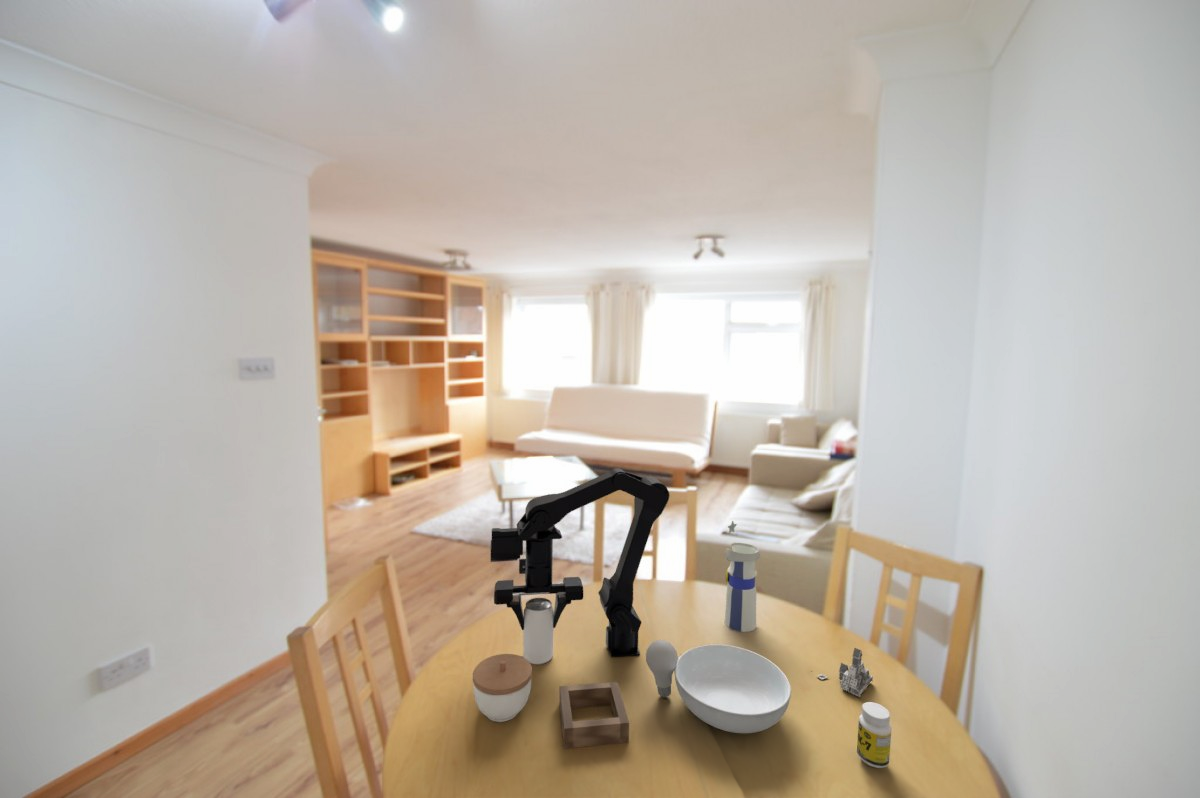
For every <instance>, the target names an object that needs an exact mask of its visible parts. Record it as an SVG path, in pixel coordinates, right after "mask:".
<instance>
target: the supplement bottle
mask: <svg viewBox="0 0 1200 798" xmlns="http://www.w3.org/2000/svg"><path fill="white" fill-rule="evenodd" d="M890 718H891V713H890V711H889V710H888V709H887V708H886V707H885V706H883V705H881V704H879V703H877V702H871V701H868V702H864V703H862V707H861V714H860V715H859V717H858V727H857V742H856V753H857V755H858V757H859V759H860V760H861V761H863V763H865V764H867V765H868V766H870V767H872V768H877V769H884V768H886V767H888V766H889V764H890V756H891V743H892V742H891V741H892V740H891V739H892V726H891V724H890Z"/></svg>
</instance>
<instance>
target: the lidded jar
mask: <svg viewBox="0 0 1200 798" xmlns="http://www.w3.org/2000/svg"><path fill="white" fill-rule="evenodd" d="M532 676H533V668H532V664H530V663H529V661H528V660H527V659H525V658H524V657H523V656H521V655H518V654H513V653H500V654H496V655H492V656H489V657H487V658H485V659H483V660H481V661H480V662H479V663H478V664H477V665H476V666H475V668H474V669H473V671H472V684H473V685H472V686H473V688H472V689H473V695H474V696H473V697H474V699H475V704H476V706H477V708H478V710H479V711H480V712H481V713H482V714H483V715H484V716H486V717H487V719H489V720H490V721H491V722H495V723H504V722H507V721H508V722H509V721H511V720H512V719H514V718H515V717H516V716H518V714H519V713H520V712H521V711H522V710H523V708H524V707H525V706H526V704H527V702H528V700H529V698H530V694H531V687H532Z"/></svg>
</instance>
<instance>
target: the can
mask: <svg viewBox="0 0 1200 798" xmlns="http://www.w3.org/2000/svg"><path fill="white" fill-rule="evenodd" d="M552 603H553V602H552V601H551V599H548V598H546V597H545V598H544V597H535V598H531V599H529V600H527V601H526V603H525V607H524V610H523V617H524V630H522V631H523V635H522V636H523V637H522V639H523V641H522V642H523V643H522V644H523V645H522V646H523V648H522V649H523V652H522V653H523V654H522V657H523V658H525V659H527V660H528V661H529V663H530V664H531V665H534V666H535V665H536V666H539V665H544V664H546V663H549V662H550V661H551V660H552V658H553V655H554V628H553V621H554V608H553V604H552Z"/></svg>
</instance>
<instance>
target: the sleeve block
mask: <svg viewBox="0 0 1200 798" xmlns="http://www.w3.org/2000/svg"><path fill="white" fill-rule="evenodd" d="M558 701H559V703H558V704H559V712H560V713H559V714H560V721H561V722H560V723H561V732H562V740H563V741H562V742H563V749H574V748H582V747H591V746H592V747H593V746H603V745H611V744H612V745H613V744H620V743H621V744H623V743H624V744H625V743H629V736H630V735H629V734H630V722H629V718H628V714H627V710H626V708H625V704H624V701H623V698H622V693H621V690H620V687H619V683H618V681H609V682H594V683H593V682H592V683H582V684H568V685H559V700H558ZM598 706H610V709H611V712H612V716H613V717H608V718H605V717H604V718H597V719H595V718H594V719H587V720H586V719H585V720H575V721H573V716H572V709H578V708H589V707H598Z"/></svg>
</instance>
